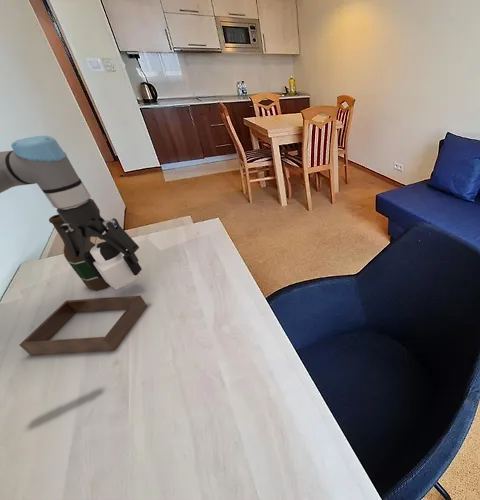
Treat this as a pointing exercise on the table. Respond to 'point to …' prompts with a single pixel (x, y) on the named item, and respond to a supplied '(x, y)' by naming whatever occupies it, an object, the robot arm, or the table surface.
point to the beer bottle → (79, 261)
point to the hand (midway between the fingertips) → (120, 273)
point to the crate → (43, 345)
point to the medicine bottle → (112, 265)
